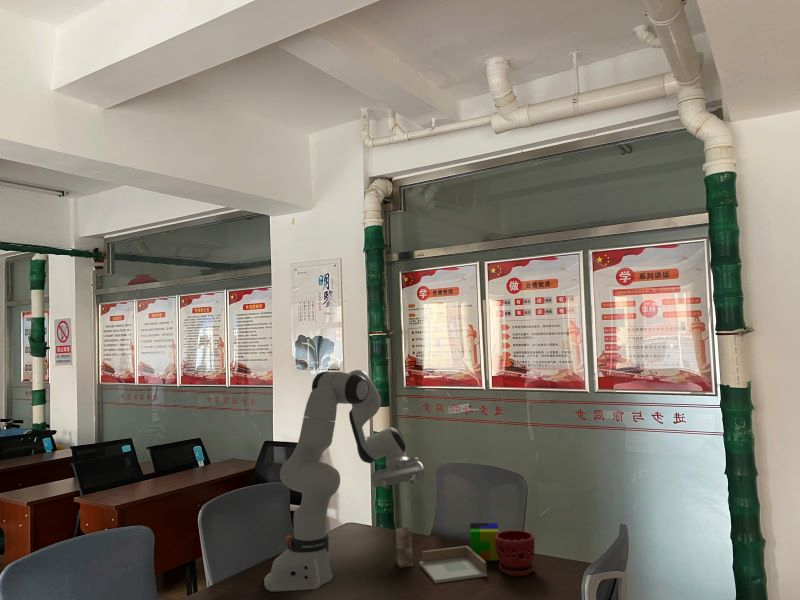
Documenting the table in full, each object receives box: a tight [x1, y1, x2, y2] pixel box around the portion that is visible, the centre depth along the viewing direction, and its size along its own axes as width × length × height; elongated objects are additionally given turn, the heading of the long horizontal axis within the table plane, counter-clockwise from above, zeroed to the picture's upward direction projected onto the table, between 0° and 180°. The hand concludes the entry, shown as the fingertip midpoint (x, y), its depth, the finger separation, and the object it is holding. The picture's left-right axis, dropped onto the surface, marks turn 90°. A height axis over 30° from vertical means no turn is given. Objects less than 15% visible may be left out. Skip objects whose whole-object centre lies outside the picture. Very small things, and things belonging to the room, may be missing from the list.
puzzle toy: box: [469, 522, 500, 561], centre depth 223 cm, size 10×10×10 cm
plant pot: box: [495, 529, 535, 577], centre depth 207 cm, size 13×13×12 cm
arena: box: [419, 545, 488, 584], centre depth 209 cm, size 18×17×4 cm
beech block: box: [395, 526, 414, 568], centre depth 216 cm, size 4×4×12 cm
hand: (399, 484), depth 225 cm, fingers open, 8 cm apart
